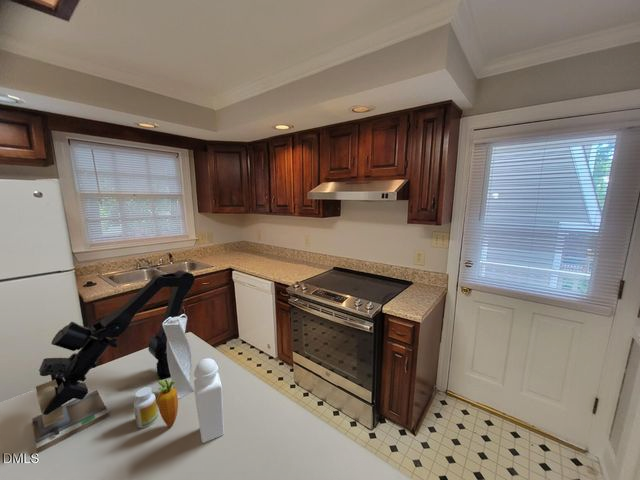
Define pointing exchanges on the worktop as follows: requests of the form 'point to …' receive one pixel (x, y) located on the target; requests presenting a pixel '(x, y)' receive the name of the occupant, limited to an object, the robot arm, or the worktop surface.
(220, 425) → the white square bottle
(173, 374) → the skyscraper
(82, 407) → the board
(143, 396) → the supplement bottle
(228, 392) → the worktop surface
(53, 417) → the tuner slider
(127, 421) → the worktop surface
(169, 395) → the carrot
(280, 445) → the worktop surface
